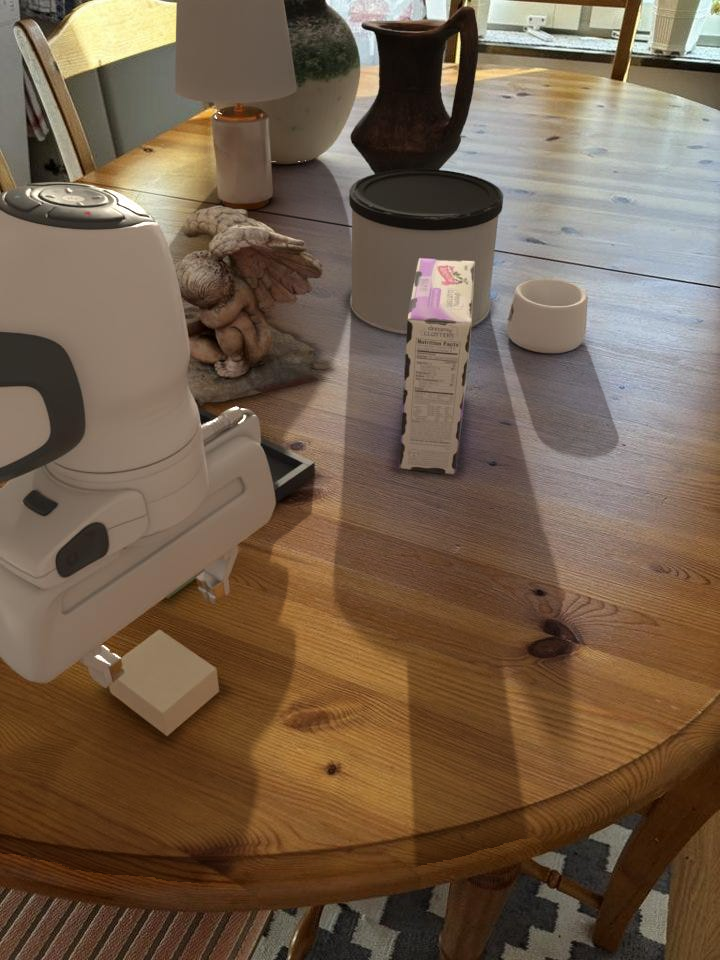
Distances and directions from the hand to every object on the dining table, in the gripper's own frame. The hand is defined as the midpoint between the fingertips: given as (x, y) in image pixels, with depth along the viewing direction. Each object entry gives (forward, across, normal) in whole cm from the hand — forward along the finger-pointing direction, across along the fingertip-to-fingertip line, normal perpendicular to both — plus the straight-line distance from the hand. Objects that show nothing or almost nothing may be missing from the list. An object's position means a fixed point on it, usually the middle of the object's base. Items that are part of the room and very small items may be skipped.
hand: (163, 634), depth 58 cm
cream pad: (+6, 0, 0) cm, 6 cm away
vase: (+7, -102, -82) cm, 131 cm away
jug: (+7, -98, -50) cm, 110 cm away
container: (+7, -64, -24) cm, 69 cm away
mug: (+7, -67, -7) cm, 68 cm away
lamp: (+6, -78, -70) cm, 105 cm away
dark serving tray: (+6, -21, -18) cm, 28 cm away
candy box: (+7, -39, -5) cm, 40 cm away
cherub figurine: (+6, -38, -32) cm, 50 cm away
